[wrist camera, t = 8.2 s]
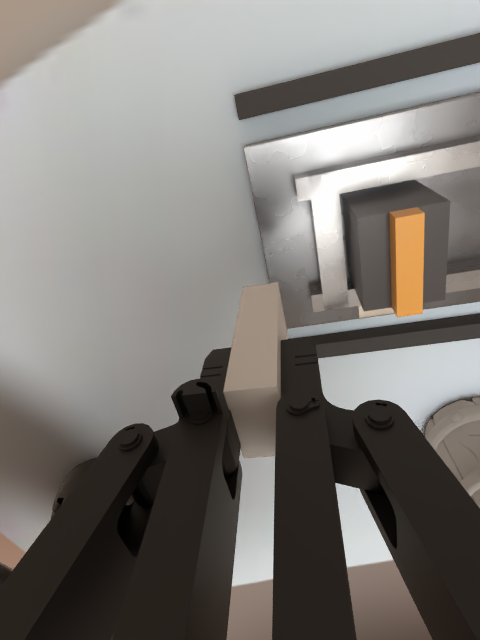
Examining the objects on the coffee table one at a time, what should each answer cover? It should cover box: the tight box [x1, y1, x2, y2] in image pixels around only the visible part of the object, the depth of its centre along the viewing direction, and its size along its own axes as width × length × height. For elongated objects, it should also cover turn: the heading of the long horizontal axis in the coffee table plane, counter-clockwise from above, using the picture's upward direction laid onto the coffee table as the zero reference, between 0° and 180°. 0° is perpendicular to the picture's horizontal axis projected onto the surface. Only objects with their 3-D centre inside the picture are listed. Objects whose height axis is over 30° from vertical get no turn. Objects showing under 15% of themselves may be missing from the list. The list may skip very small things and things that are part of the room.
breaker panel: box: [244, 92, 480, 329], centre depth 22 cm, size 24×12×3 cm, turn 102°
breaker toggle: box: [342, 180, 450, 317], centre depth 20 cm, size 4×5×6 cm
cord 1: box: [309, 314, 480, 358], centre depth 27 cm, size 24×1×1 cm, turn 102°
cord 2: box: [234, 33, 480, 120], centre depth 19 cm, size 24×1×1 cm, turn 102°
